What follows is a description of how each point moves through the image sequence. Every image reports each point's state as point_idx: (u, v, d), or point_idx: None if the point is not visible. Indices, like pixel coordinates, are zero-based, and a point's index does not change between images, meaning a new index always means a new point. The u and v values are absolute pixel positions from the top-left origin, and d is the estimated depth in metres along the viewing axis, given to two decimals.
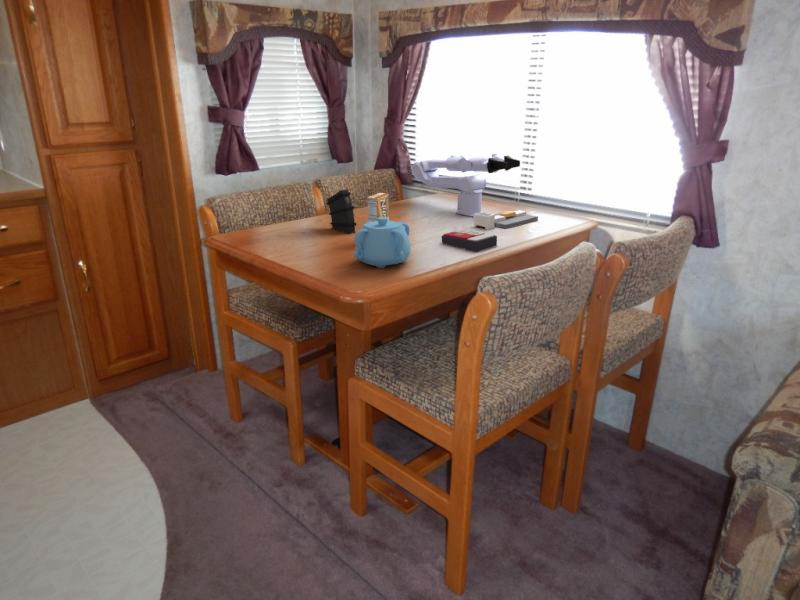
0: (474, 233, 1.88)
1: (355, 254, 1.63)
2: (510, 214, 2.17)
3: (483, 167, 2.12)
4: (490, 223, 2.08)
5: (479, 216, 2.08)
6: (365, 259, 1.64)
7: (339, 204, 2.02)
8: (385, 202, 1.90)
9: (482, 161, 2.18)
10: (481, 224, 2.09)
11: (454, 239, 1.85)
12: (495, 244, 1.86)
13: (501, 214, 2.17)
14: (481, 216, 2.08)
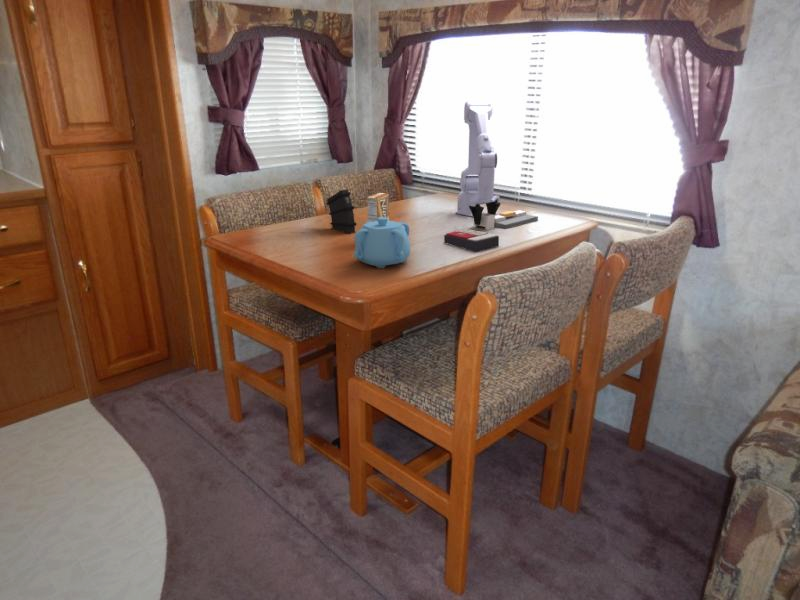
0: (476, 233, 1.88)
1: (355, 254, 1.63)
2: (510, 214, 2.17)
3: (470, 203, 2.03)
4: (490, 223, 2.08)
5: None
6: (365, 259, 1.64)
7: (339, 204, 2.02)
8: (385, 202, 1.90)
9: (483, 190, 2.03)
10: (481, 224, 2.09)
11: (455, 239, 1.86)
12: (497, 244, 1.86)
13: (501, 214, 2.17)
14: (481, 216, 2.08)
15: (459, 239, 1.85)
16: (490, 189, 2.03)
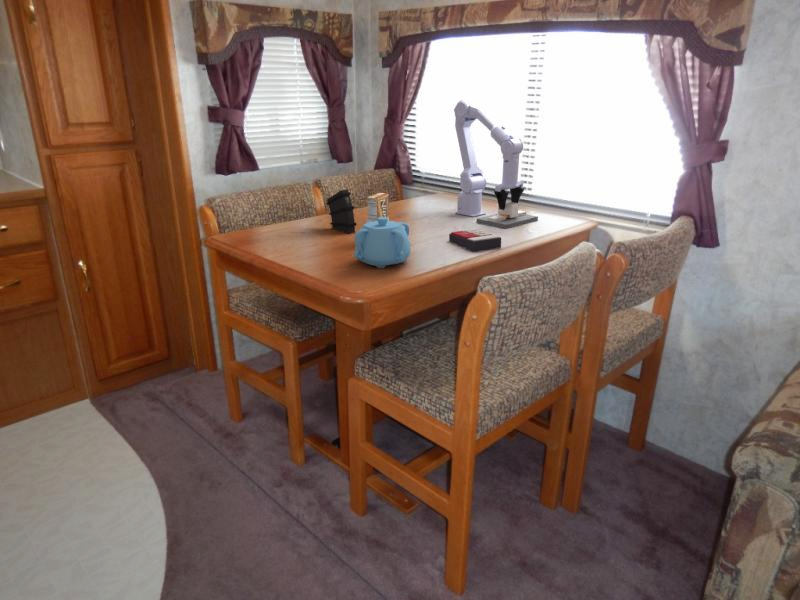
0: (480, 233, 1.88)
1: (355, 254, 1.63)
2: None
3: (496, 188, 2.10)
4: (514, 211, 2.15)
5: None
6: (365, 259, 1.64)
7: (339, 204, 2.02)
8: (385, 202, 1.90)
9: (508, 175, 2.11)
10: (505, 212, 2.16)
11: (458, 238, 1.87)
12: (499, 246, 1.84)
13: (501, 215, 2.17)
14: (505, 205, 2.15)
15: (460, 238, 1.85)
16: (515, 175, 2.11)
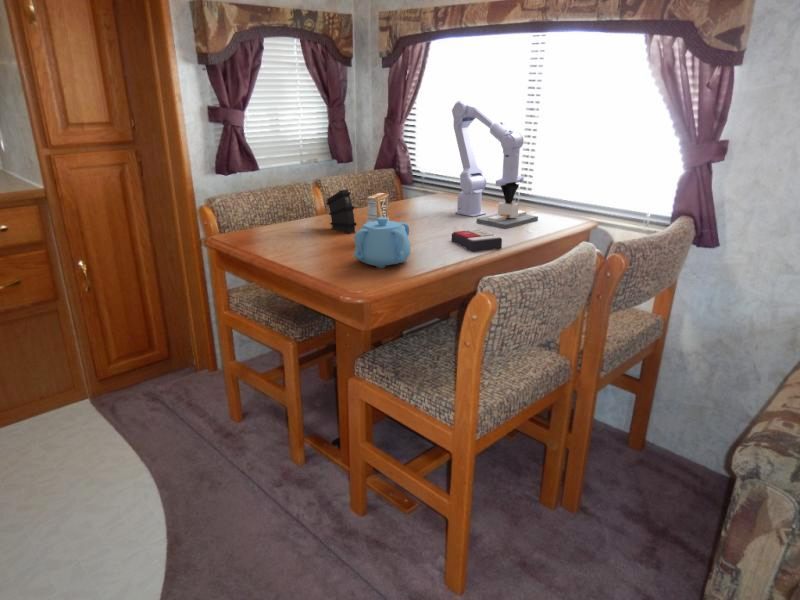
0: (482, 234, 1.87)
1: (355, 254, 1.63)
2: None
3: (496, 183, 2.10)
4: (514, 212, 2.15)
5: (503, 205, 2.16)
6: (365, 259, 1.64)
7: (339, 204, 2.02)
8: (385, 202, 1.90)
9: (509, 170, 2.10)
10: (505, 213, 2.17)
11: (459, 237, 1.87)
12: (499, 246, 1.83)
13: (501, 215, 2.17)
14: (505, 205, 2.15)
15: (461, 238, 1.86)
16: (515, 169, 2.10)
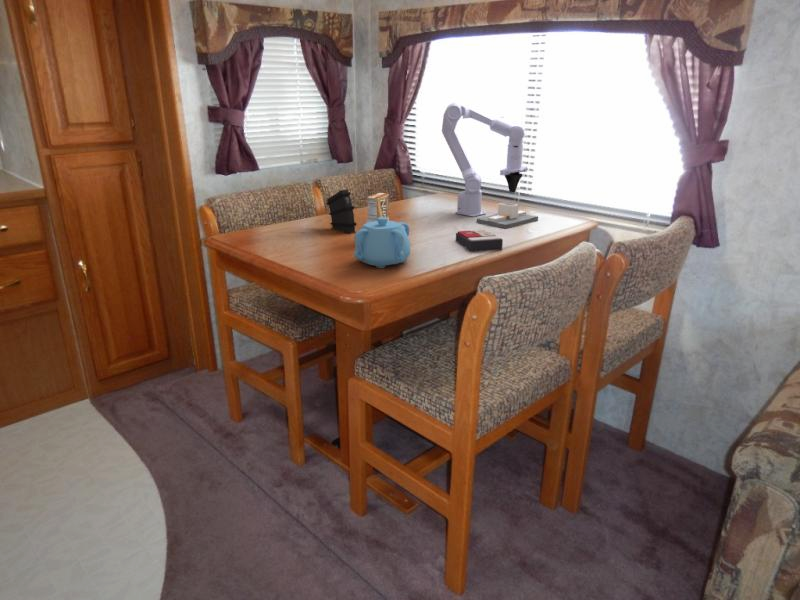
0: (484, 234, 1.87)
1: (355, 254, 1.63)
2: None
3: (501, 172, 2.19)
4: (514, 213, 2.15)
5: (503, 206, 2.16)
6: (365, 259, 1.64)
7: (339, 204, 2.02)
8: (385, 202, 1.90)
9: (513, 160, 2.19)
10: (505, 214, 2.17)
11: (461, 237, 1.88)
12: (499, 247, 1.82)
13: None
14: (505, 206, 2.16)
15: (462, 238, 1.86)
16: (519, 159, 2.20)
